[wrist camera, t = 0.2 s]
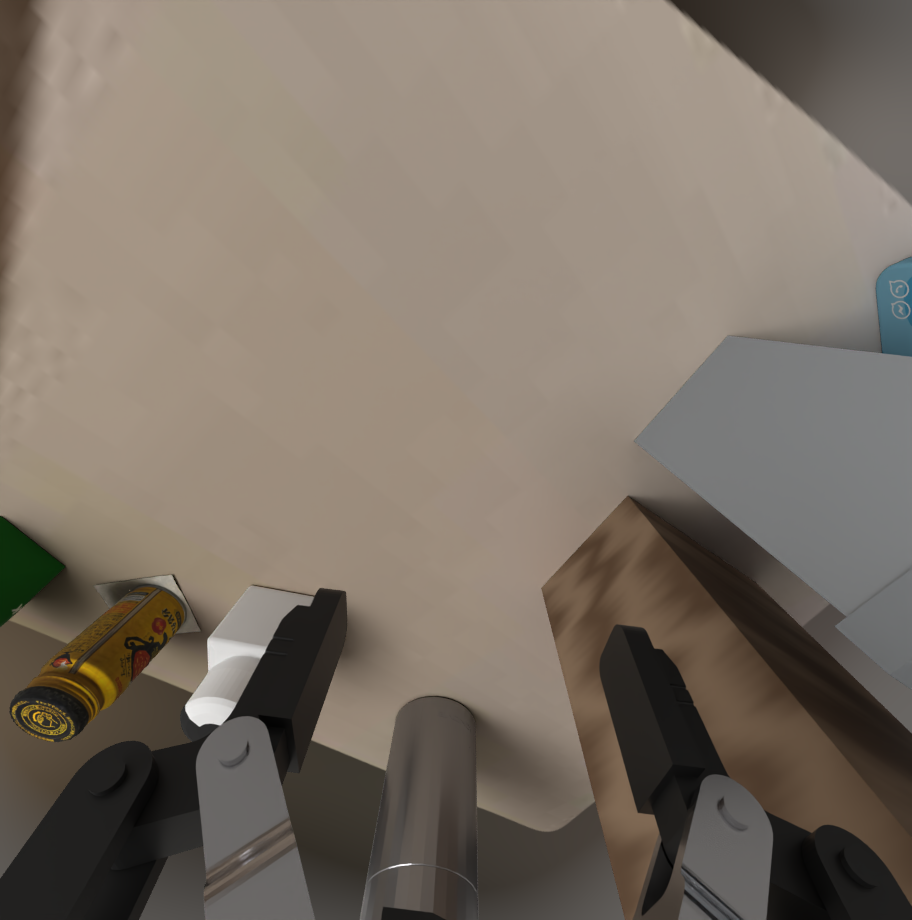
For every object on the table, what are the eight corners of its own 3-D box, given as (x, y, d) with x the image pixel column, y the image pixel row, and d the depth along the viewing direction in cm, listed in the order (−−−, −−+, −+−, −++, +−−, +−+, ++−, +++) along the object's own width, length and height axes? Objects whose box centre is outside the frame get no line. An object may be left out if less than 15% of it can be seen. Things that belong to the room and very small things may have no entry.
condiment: (202, 630, 42) (104, 748, 31) (128, 638, 43) (7, 757, 31) (173, 573, 39) (55, 679, 28) (95, 583, 40) (-50, 690, 29)
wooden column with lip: (662, 665, 41) (1162, 1598, 11) (536, 590, 38) (765, 1577, 9) (762, 581, 37) (1948, 1696, 7) (629, 490, 34) (1696, 1722, 4)
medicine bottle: (316, 649, 42) (261, 773, 31) (249, 637, 42) (168, 758, 31) (321, 596, 40) (263, 710, 28) (249, 583, 39) (162, 693, 28)
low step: (796, 564, 36) (1217, 897, 16) (627, 444, 33) (889, 674, 12) (906, 473, 33) (1627, 749, 12) (730, 327, 29) (1337, 378, 9)
